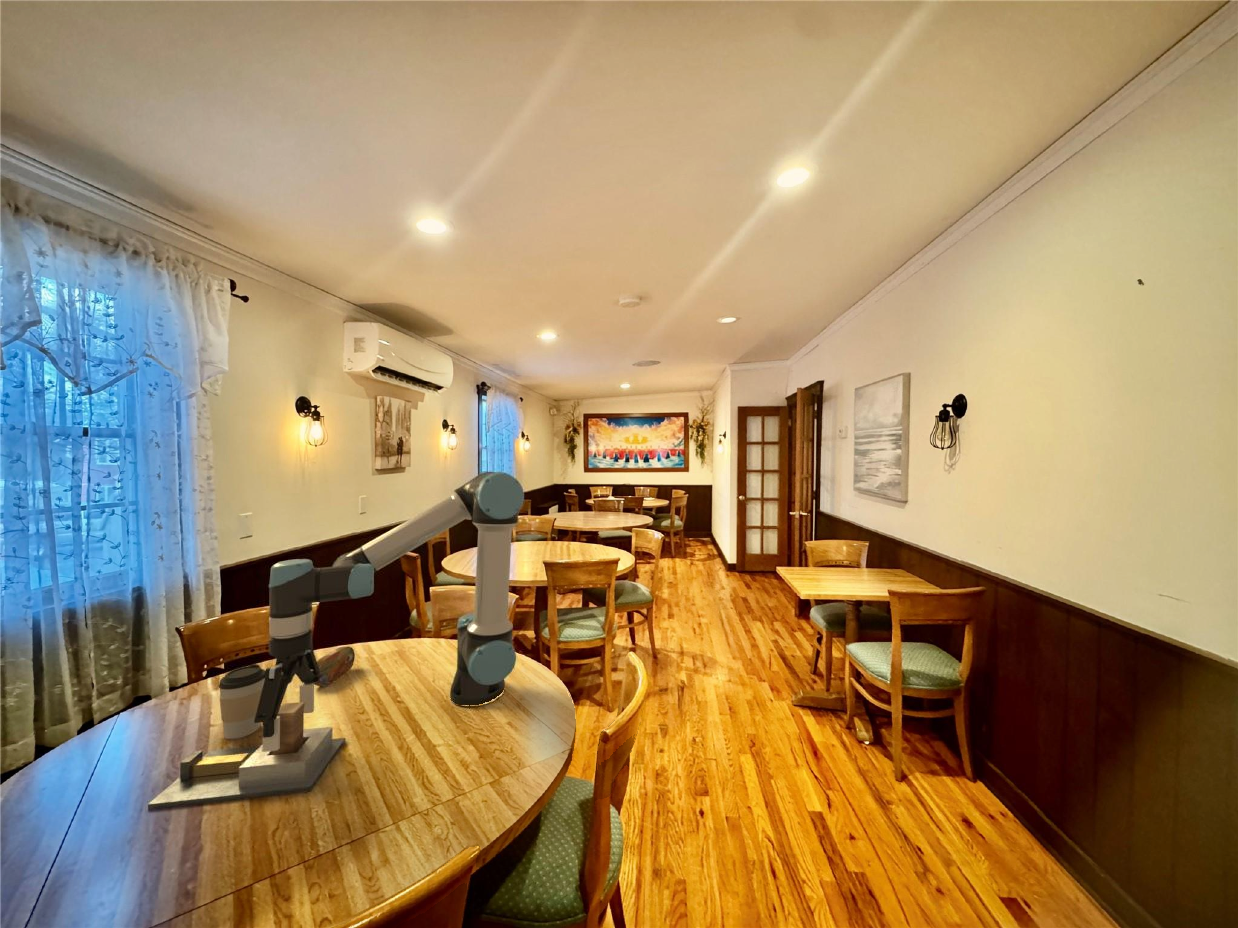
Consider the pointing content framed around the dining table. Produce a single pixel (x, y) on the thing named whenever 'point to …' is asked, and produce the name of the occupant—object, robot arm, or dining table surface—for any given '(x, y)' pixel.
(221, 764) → the pin
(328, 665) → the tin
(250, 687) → the coffee cup
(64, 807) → the dining table surface
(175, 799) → the dock
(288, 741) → the peg
